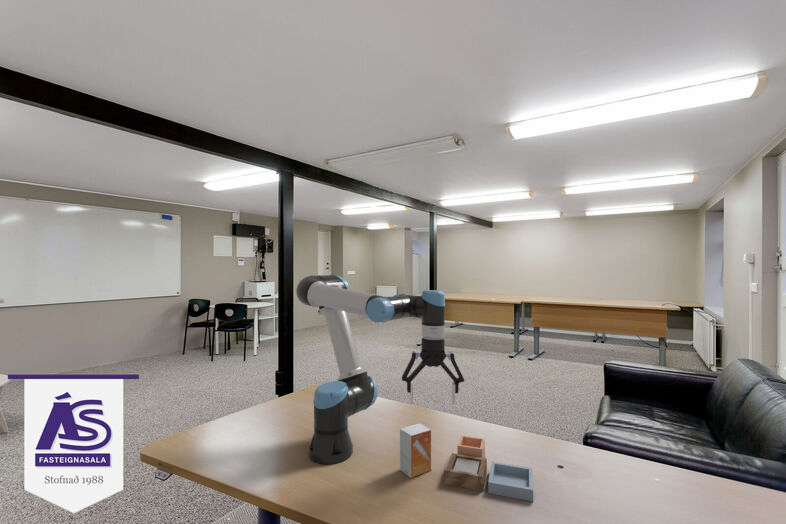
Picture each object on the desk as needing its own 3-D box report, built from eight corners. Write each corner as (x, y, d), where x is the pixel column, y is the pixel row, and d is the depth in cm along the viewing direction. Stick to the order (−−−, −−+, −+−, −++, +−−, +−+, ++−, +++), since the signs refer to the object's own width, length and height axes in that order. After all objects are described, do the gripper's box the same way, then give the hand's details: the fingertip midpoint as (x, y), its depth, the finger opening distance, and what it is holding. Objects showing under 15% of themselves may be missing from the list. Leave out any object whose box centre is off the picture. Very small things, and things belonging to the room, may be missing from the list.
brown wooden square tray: (445, 483, 110) (445, 470, 110) (452, 465, 120) (452, 453, 121) (483, 491, 106) (483, 476, 106) (486, 471, 117) (486, 458, 117)
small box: (411, 478, 113) (410, 435, 113) (399, 469, 118) (399, 428, 119) (431, 470, 117) (431, 429, 118) (419, 462, 123) (419, 422, 123)
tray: (488, 493, 105) (488, 482, 105) (491, 471, 117) (491, 461, 117) (533, 501, 101) (533, 490, 101) (532, 478, 113) (532, 468, 113)
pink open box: (457, 464, 121) (457, 445, 121) (461, 452, 129) (461, 435, 129) (482, 468, 119) (482, 449, 119) (485, 456, 126) (484, 438, 126)
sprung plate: (452, 474, 111) (452, 470, 111) (457, 461, 118) (457, 457, 118) (476, 479, 109) (476, 474, 109) (479, 465, 116) (479, 461, 116)
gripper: (394, 339, 118) (394, 406, 117) (473, 340, 117) (473, 407, 117) (395, 334, 125) (394, 397, 125) (469, 336, 125) (468, 399, 124)
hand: (432, 402), depth 121 cm, fingers open, 13 cm apart
